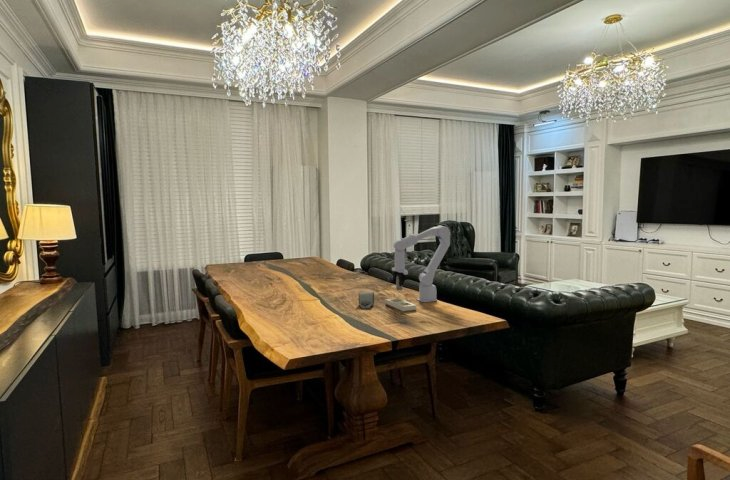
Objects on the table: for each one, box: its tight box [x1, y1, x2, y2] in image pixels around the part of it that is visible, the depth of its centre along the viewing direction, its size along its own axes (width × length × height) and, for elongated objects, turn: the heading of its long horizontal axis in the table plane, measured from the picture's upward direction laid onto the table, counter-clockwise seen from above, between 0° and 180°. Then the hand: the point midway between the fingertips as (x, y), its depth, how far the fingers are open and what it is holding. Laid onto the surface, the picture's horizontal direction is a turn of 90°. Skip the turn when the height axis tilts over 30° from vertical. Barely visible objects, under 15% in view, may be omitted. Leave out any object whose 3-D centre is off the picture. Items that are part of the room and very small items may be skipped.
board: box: [385, 297, 417, 314], centre depth 226 cm, size 8×18×3 cm, turn 27°
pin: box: [395, 275, 404, 291], centre depth 239 cm, size 4×4×8 cm
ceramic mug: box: [358, 291, 375, 310], centre depth 229 cm, size 11×8×8 cm
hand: (399, 285), depth 240 cm, fingers closed on pin, 3 cm apart
